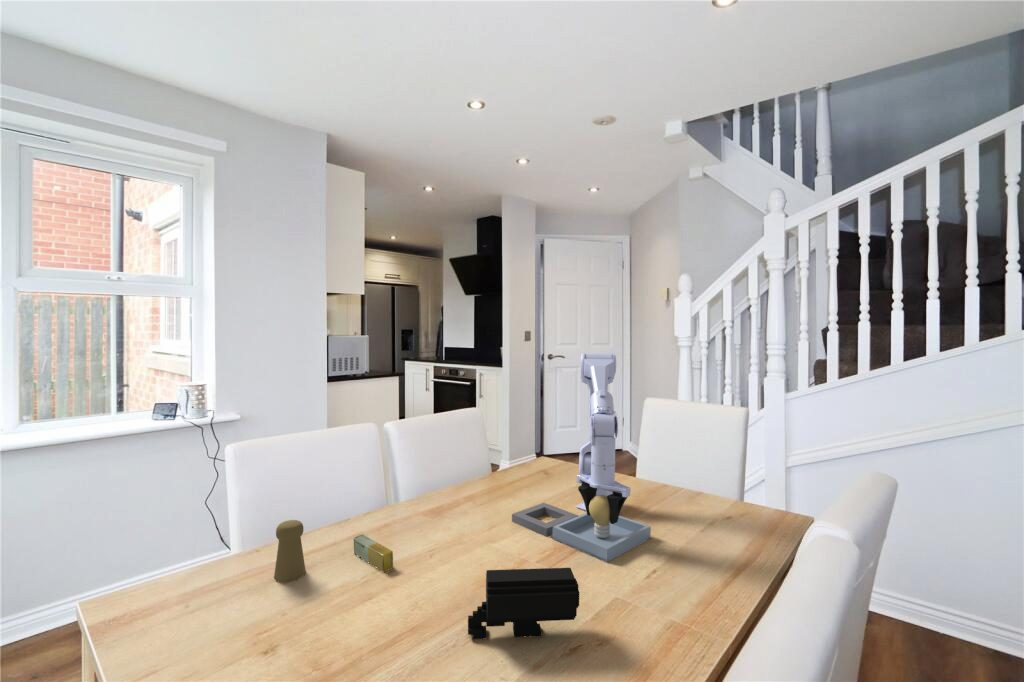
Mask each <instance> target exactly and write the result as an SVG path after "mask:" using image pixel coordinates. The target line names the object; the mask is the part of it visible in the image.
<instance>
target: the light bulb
mask: <svg viewBox="0 0 1024 682" xmlns="http://www.w3.org/2000/svg"><path fill="white" fill-rule="evenodd" d="M589 512H590V515H591V516H592V518H593V519H594V521H595V523H594V526H595V527H594V530H595V531H594V534H595V535H596V536H597V537H598V538H607V537H609V535H610V524H609V522H610V508H609V502H608V499H607V496H605V495H598V496H595V497H594V498H593V499H592V500H591V501H590V504H589Z"/></svg>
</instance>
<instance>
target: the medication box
mask: <svg viewBox="0 0 1024 682" xmlns="http://www.w3.org/2000/svg"><path fill="white" fill-rule="evenodd" d="M353 554H354V555H355V554H356V555H355V556H357V555H358V556H357V557H359V558H360V557H361V558H360V559H362V560H363V559H364V560H363V561H365V562H367V563H368V562H369V563H368V564H370V563H371V564H372V566H373V565H374V566H373V567H374V568H376V567H377V568H376V569H378V570H379V569H380V571H381V570H382V571H381V572H383V571H385V572H387V571H389V570H388V569H390V570H391V568H392V569H393V568H394V552H393V550H391V549H389V548H388V547H386V546H384V545H382V544H381V543H379V542H378V541H376V540H373V539H372V538H370V537H368V536H366V535H365V534H359V535H357V536H355V537H354V538H353ZM371 564H370V565H371ZM386 570H387V571H386Z"/></svg>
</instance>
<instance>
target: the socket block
mask: <svg viewBox="0 0 1024 682" xmlns="http://www.w3.org/2000/svg"><path fill="white" fill-rule="evenodd" d="M544 515H545V516H548V517H551V518H553V520H550V521H547V522H544V521H542V520H540V519H537V518H539V517H541V516H544ZM577 516H580V515H579V514H576V513H574V512H572V511H571V512H570V511H567V510H565V509H562V508H559V507H557V506H554V505H551V504H550V503H549V504H548V503H546V502H541V503H540V504H536V505H533V506H530V507H528V508H524V509H522V510H519V511H517V512H513V513H512V514H511V522H512V523H514V524H517V525H519V526H522V527H524V528H526V529H528V530H530V531H532V532H535V533H537V534H539V535H541V536H544V537H546V538H547V537H549V536H551V535H553V526H555V525H558V524H560V523H563V522H565V521H568V520H570V519H572V518H575V517H577Z"/></svg>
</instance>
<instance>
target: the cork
mask: <svg viewBox="0 0 1024 682" xmlns="http://www.w3.org/2000/svg"><path fill="white" fill-rule="evenodd" d="M303 533H304V525H303V522H302V521H300V520H297V519H289V520H285V521H283V522H280V523H279V524H278V525H277V527H276V530H275V536H276V538H277V540H278V543H277V552H276V553H277V554H276V561H275V568H274V575H273V579H275V580H276V581H275V580H274V581H275V582H277V581H279V582H278V583H290V582H291V581H292V582H294V580H295V581H297V579H298V580H300V579H302V578H303V577H304V576H305V575H306V574H307V572H306V570H307V569H306V565H305V563H306V562H305V557H304V551H303V544H302V535H303ZM305 573H306V574H305ZM303 575H304V576H303ZM302 576H303V577H302ZM301 577H302V578H301ZM299 578H300V579H299Z"/></svg>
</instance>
